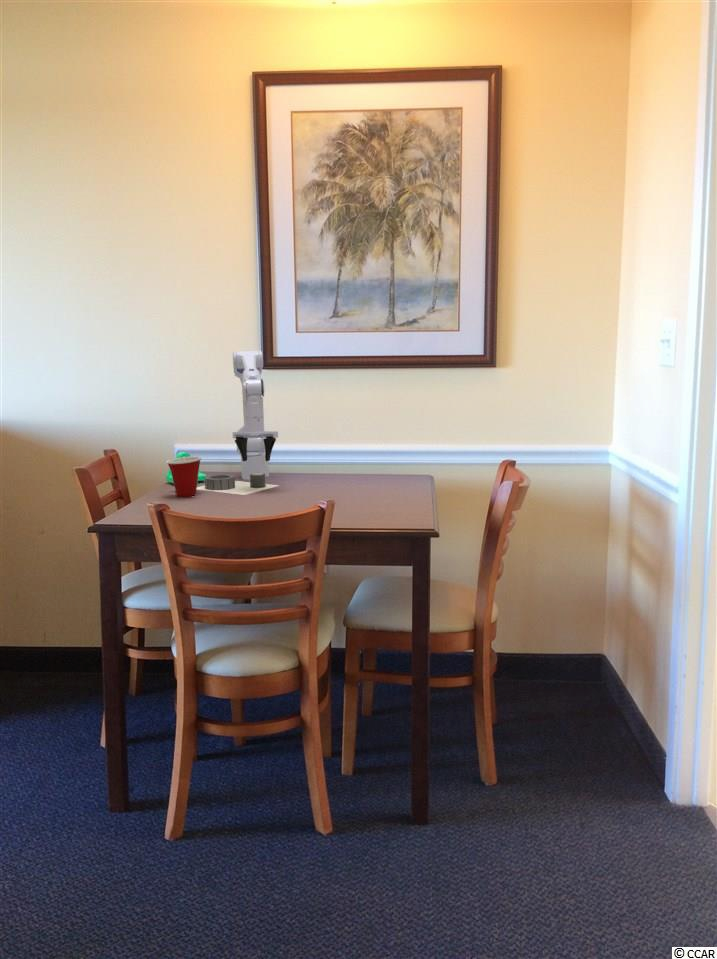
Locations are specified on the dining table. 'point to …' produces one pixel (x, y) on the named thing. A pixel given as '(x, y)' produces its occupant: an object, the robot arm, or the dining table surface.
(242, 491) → the board
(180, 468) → the plastic cup
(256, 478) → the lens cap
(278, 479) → the dining table surface
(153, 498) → the dining table surface
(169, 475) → the camera mount
